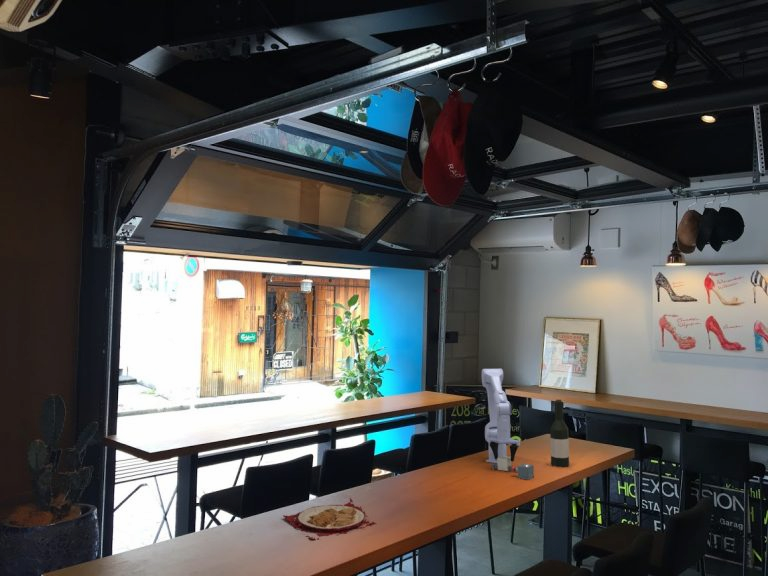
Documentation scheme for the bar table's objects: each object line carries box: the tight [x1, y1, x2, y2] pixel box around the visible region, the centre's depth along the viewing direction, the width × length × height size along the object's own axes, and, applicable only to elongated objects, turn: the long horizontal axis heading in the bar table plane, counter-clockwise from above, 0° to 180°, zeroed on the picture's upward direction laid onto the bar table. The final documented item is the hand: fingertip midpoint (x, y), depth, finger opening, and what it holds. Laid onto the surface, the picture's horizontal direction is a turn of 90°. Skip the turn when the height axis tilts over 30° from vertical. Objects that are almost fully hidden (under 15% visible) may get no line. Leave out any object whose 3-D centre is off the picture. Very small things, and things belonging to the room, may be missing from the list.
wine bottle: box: [549, 398, 570, 468], centre depth 277 cm, size 8×8×30 cm
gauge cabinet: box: [517, 463, 535, 481], centre depth 256 cm, size 6×5×5 cm
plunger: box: [510, 465, 518, 473], centre depth 258 cm, size 3×4×3 cm, turn 57°
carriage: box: [497, 455, 512, 472], centre depth 269 cm, size 5×4×5 cm
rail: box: [491, 463, 517, 472], centre depth 267 cm, size 3×18×2 cm, turn 57°
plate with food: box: [282, 497, 377, 540], centre depth 203 cm, size 25×26×4 cm
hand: (504, 460), depth 269 cm, fingers open, 7 cm apart
